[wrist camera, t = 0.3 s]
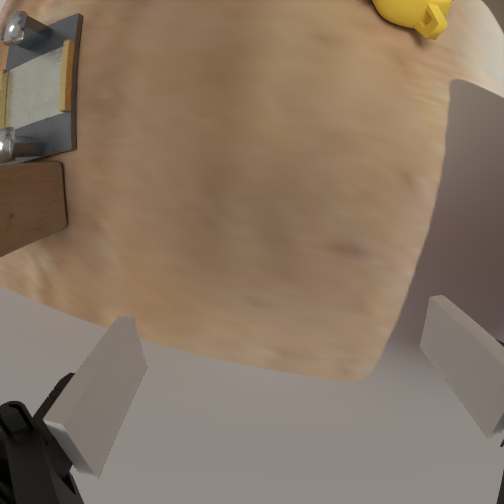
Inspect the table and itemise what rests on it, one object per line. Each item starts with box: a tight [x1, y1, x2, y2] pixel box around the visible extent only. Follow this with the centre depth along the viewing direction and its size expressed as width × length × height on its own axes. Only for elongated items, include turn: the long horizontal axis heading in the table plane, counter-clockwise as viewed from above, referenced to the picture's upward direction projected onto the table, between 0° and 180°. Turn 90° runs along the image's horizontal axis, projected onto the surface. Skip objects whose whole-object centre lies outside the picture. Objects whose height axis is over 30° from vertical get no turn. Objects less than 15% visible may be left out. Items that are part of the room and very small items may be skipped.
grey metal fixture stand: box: [0, 11, 83, 165], centre depth 29 cm, size 22×15×10 cm
